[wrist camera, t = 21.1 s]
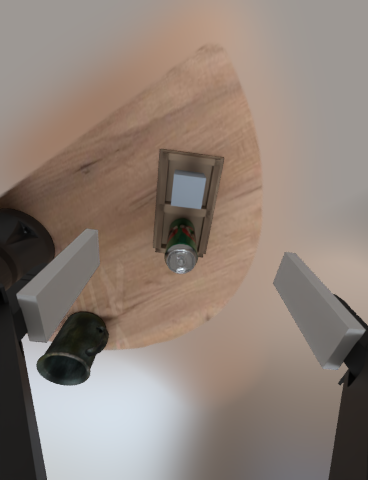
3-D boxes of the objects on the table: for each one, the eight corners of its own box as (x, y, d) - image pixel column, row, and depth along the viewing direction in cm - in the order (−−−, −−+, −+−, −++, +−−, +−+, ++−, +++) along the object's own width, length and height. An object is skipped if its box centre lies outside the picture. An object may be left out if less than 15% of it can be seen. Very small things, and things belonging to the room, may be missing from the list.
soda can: (170, 241, 43) (166, 277, 33) (167, 218, 41) (161, 248, 30) (195, 239, 43) (199, 274, 32) (193, 215, 41) (196, 245, 30)
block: (175, 169, 37) (173, 174, 33) (203, 173, 37) (206, 178, 33) (172, 197, 39) (170, 205, 35) (199, 200, 40) (201, 209, 35)
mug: (56, 317, 55) (24, 362, 44) (103, 299, 52) (81, 342, 41) (82, 344, 59) (59, 390, 48) (127, 328, 56) (112, 374, 45)
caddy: (153, 245, 45) (151, 252, 42) (160, 148, 37) (158, 149, 34) (205, 251, 45) (206, 259, 43) (223, 157, 37) (226, 159, 34)
